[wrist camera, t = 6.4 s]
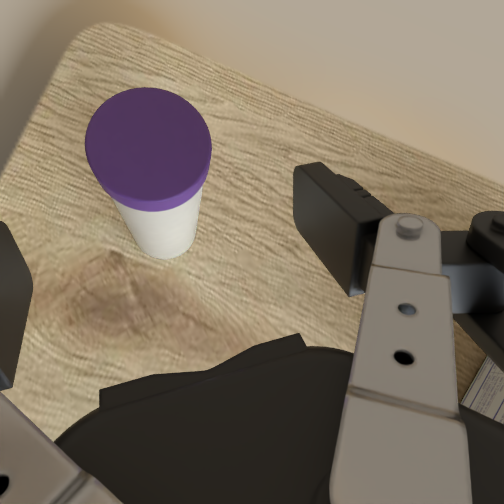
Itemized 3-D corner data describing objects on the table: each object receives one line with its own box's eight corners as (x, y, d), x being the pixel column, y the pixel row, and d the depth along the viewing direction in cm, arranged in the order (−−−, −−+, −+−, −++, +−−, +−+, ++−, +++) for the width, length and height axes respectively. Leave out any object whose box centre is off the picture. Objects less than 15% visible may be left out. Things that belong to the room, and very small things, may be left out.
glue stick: (138, 268, 20) (98, 213, 10) (124, 204, 20) (72, 95, 11) (204, 253, 21) (224, 189, 11) (189, 192, 21) (196, 78, 11)
